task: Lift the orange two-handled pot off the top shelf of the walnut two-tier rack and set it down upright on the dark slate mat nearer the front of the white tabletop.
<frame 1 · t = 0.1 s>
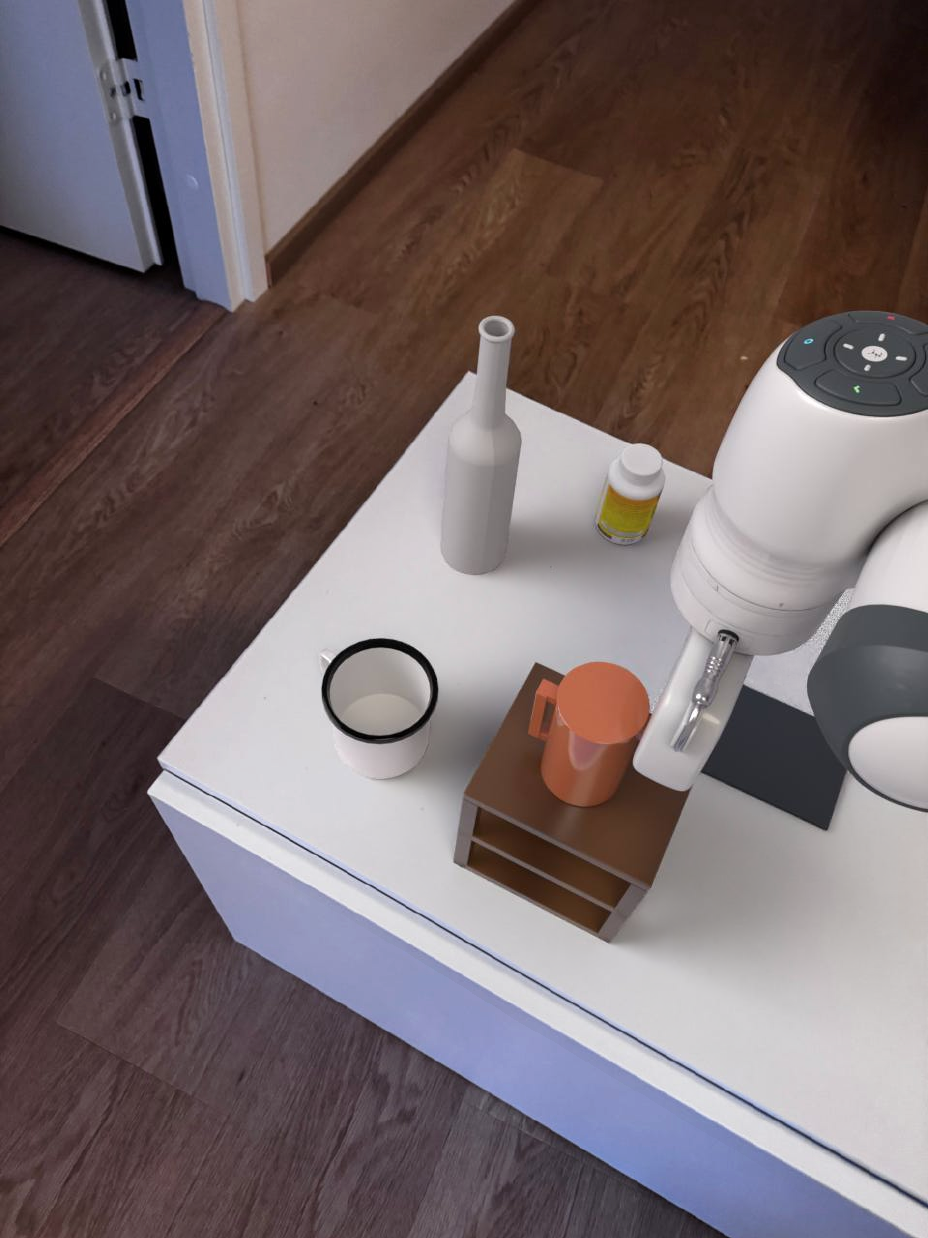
hand: (691, 690, 65), 21 cm above the table, tool pointing down, fingers open, 8 cm apart
mat: (776, 753, 87), on the table
orange two-handled pot: (581, 768, 69), point 15 cm above the table, touching gripper, rack
mug: (371, 727, 86), on the table
supplement bottle: (620, 526, 100), on the table
rack: (559, 839, 81), on the table
bottle: (472, 548, 97), on the table
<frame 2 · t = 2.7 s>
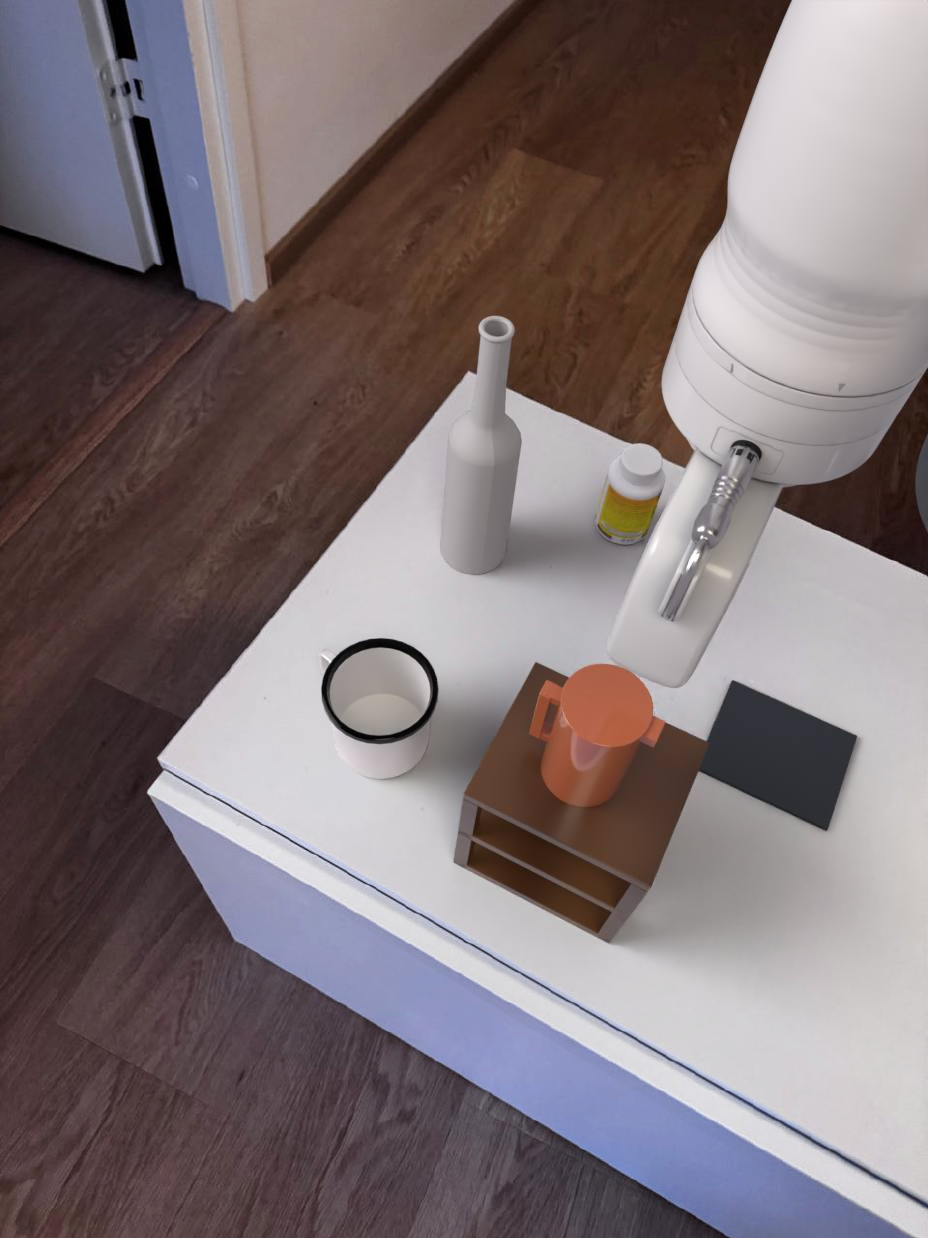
hand: (689, 574, 49), 39 cm above the table, tool pointing down, fingers open, 8 cm apart
orange two-handled pot: (581, 768, 69), point 15 cm above the table, touching rack
everything else where it was.
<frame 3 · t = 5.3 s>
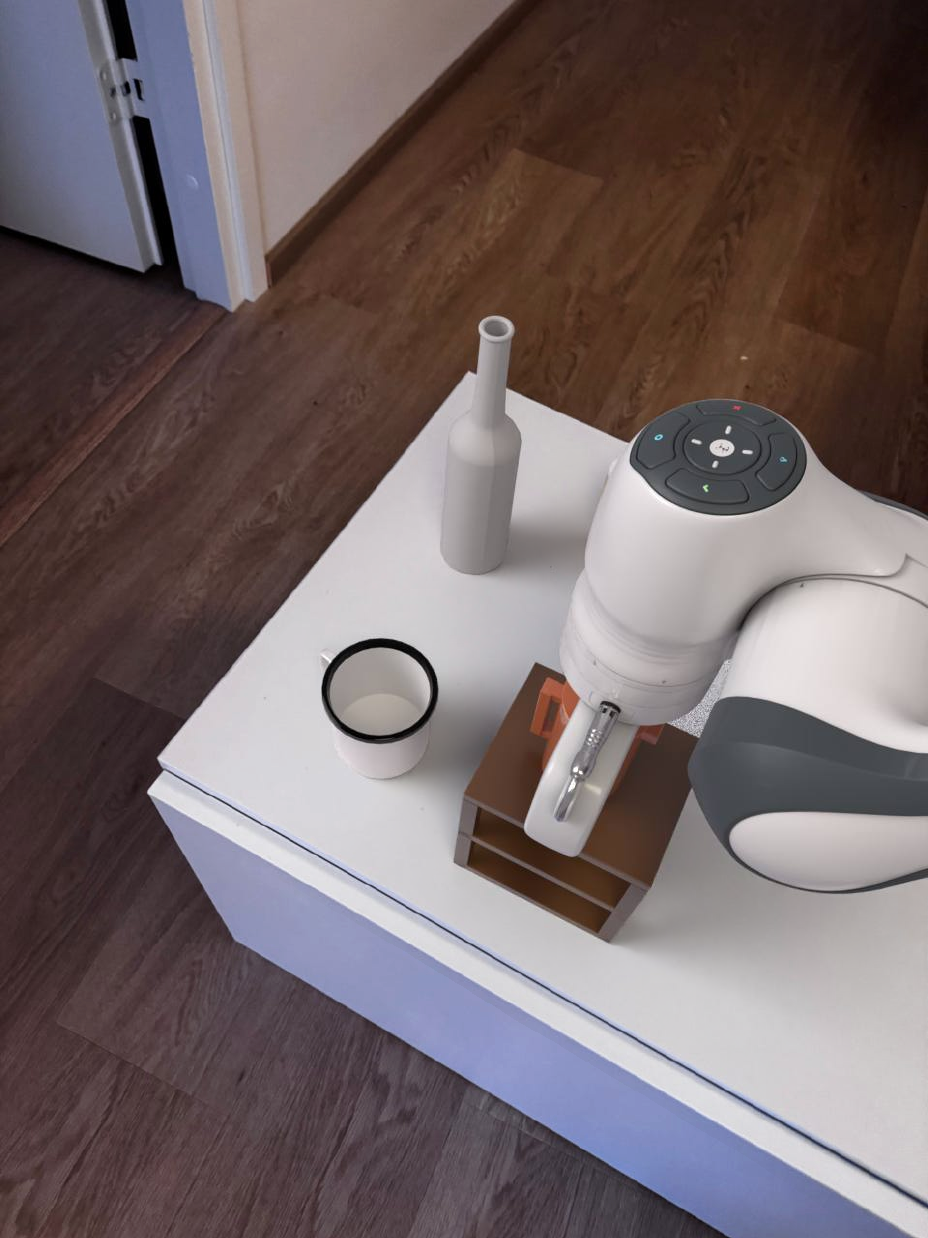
hand: (598, 746, 66), 19 cm above the table, tool pointing down, fingers closed on orange two-handled pot, 6 cm apart
orange two-handled pot: (582, 766, 69), point 15 cm above the table, touching gripper, rack
everything else where it was.
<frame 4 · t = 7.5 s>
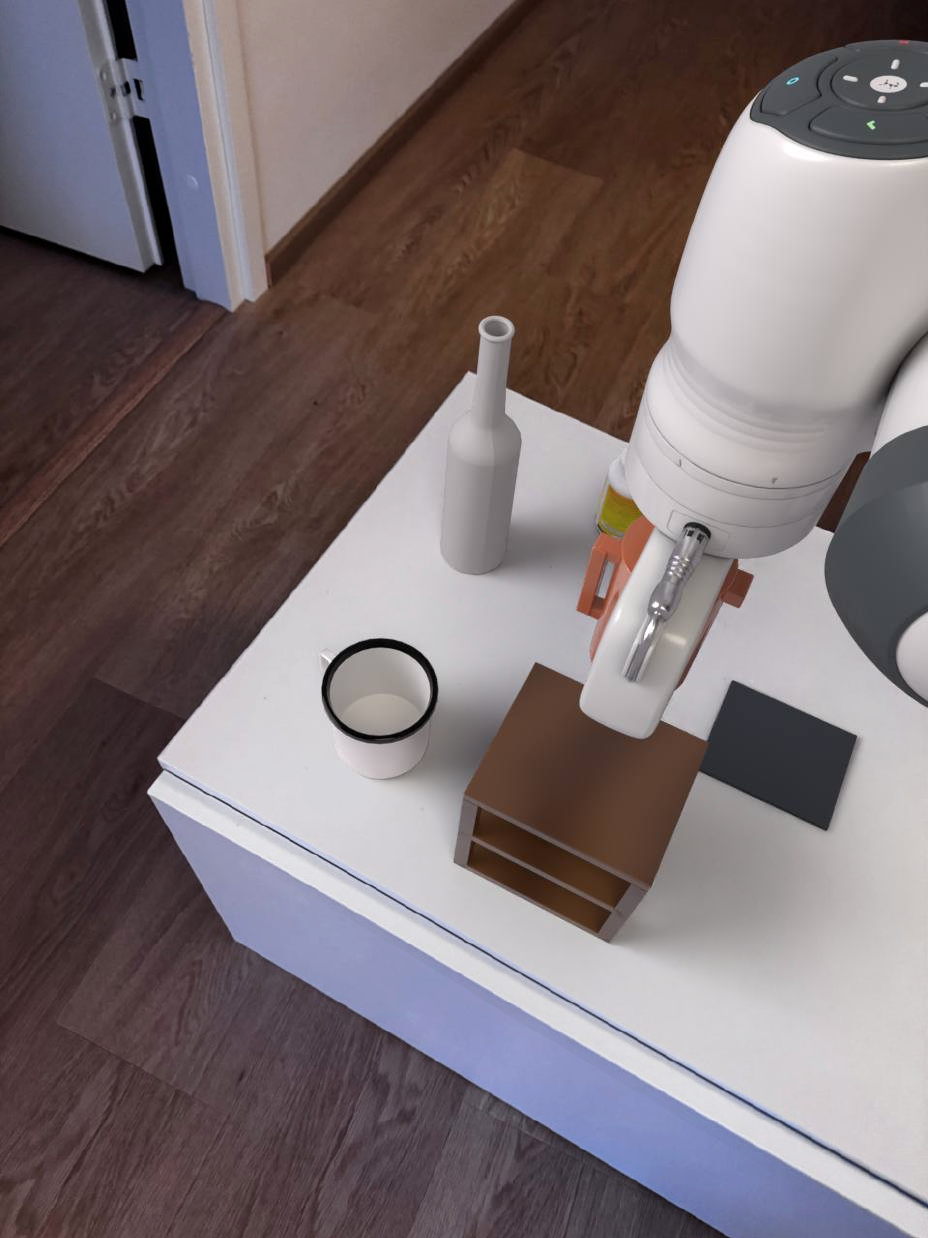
hand: (661, 625, 53), 34 cm above the table, tool pointing down, fingers closed on orange two-handled pot, 6 cm apart
orange two-handled pot: (639, 656, 56), point 30 cm above the table, touching gripper
everything else where it was.
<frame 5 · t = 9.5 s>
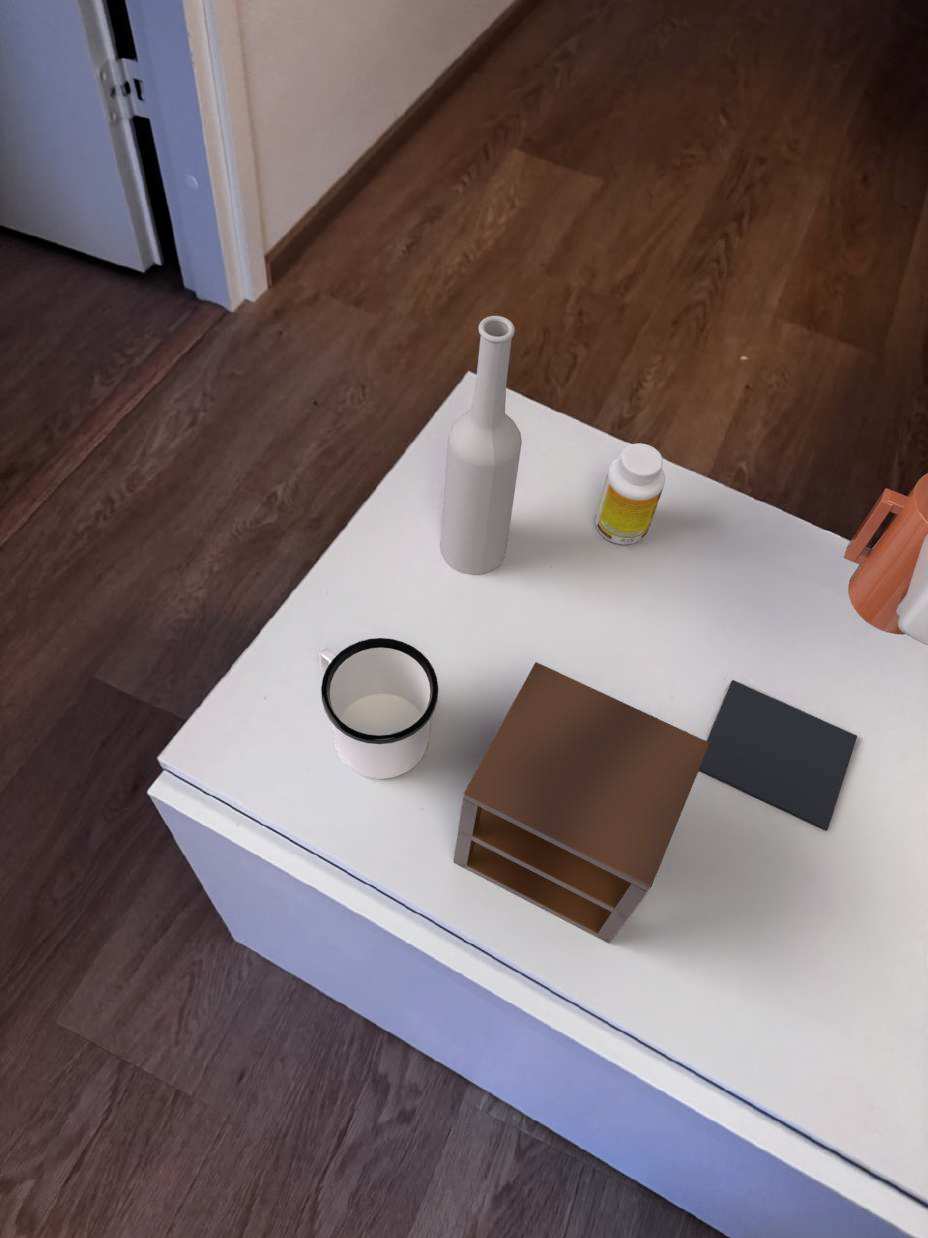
hand: (922, 570, 63), 29 cm above the table, tool pointing down, fingers closed on orange two-handled pot, 6 cm apart
orange two-handled pot: (890, 598, 66), point 25 cm above the table, touching gripper
everything else where it was.
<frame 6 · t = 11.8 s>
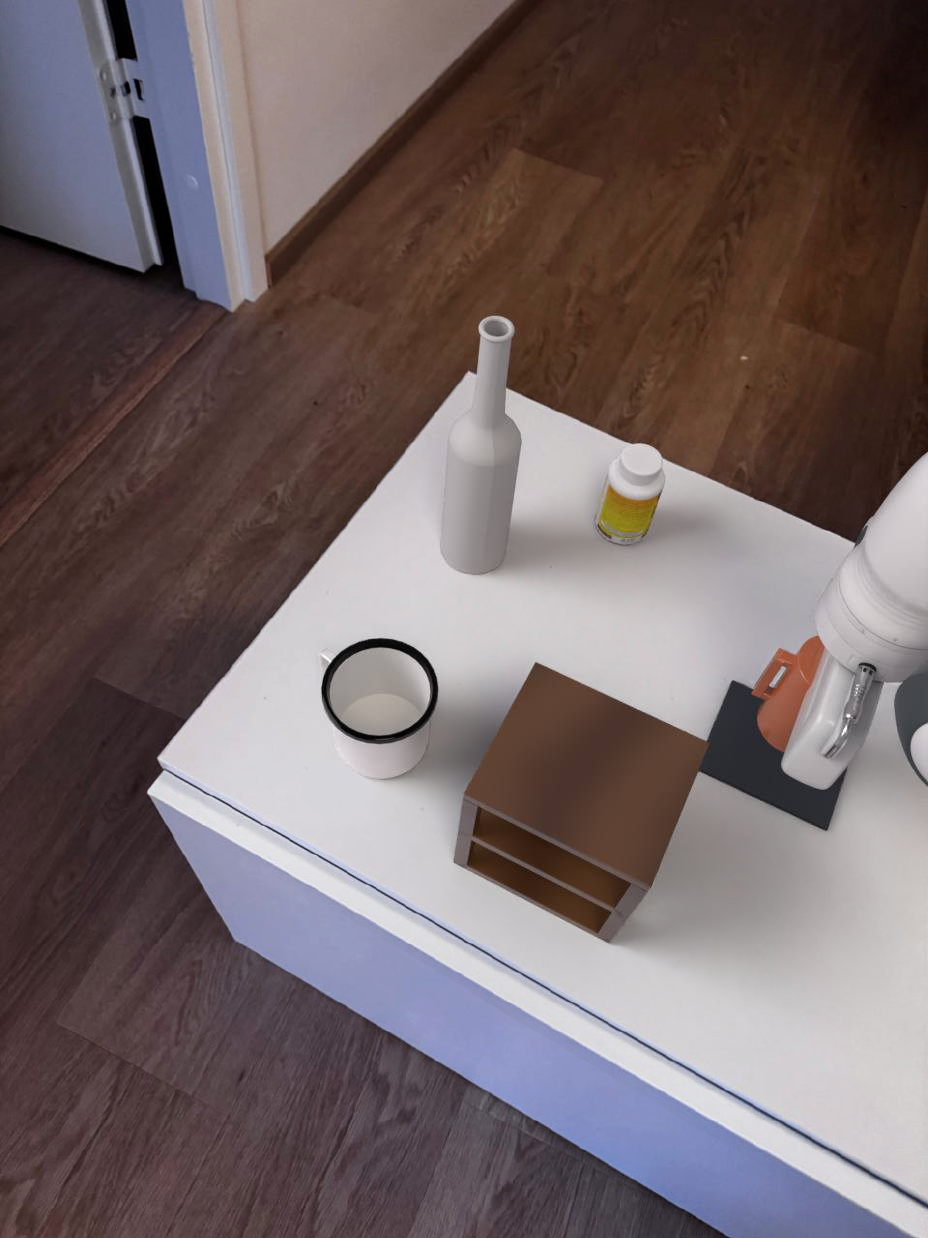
hand: (813, 706, 79), 9 cm above the table, tool pointing down, fingers closed on orange two-handled pot, 6 cm apart
orange two-handled pot: (790, 724, 82), point 6 cm above the table, touching gripper
everything else where it was.
when the fingers open (4 cm above the table, at t = 13.8 s): orange two-handled pot stays where it is, resting on mat.
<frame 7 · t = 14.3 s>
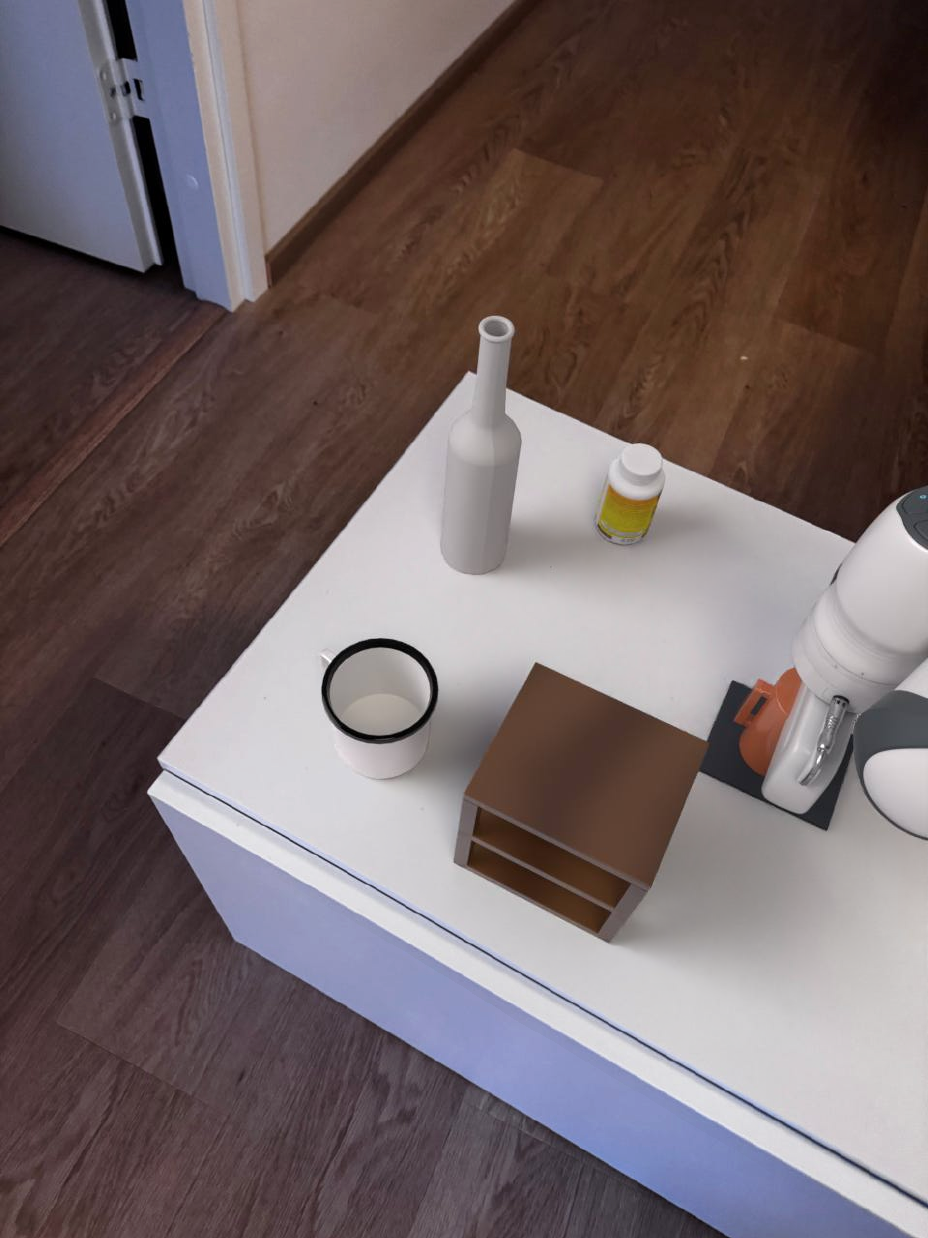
hand: (794, 732, 83), 4 cm above the table, tool pointing down, fingers open, 8 cm apart
orange two-handled pot: (771, 749, 86), resting on mat
everything else where it was.
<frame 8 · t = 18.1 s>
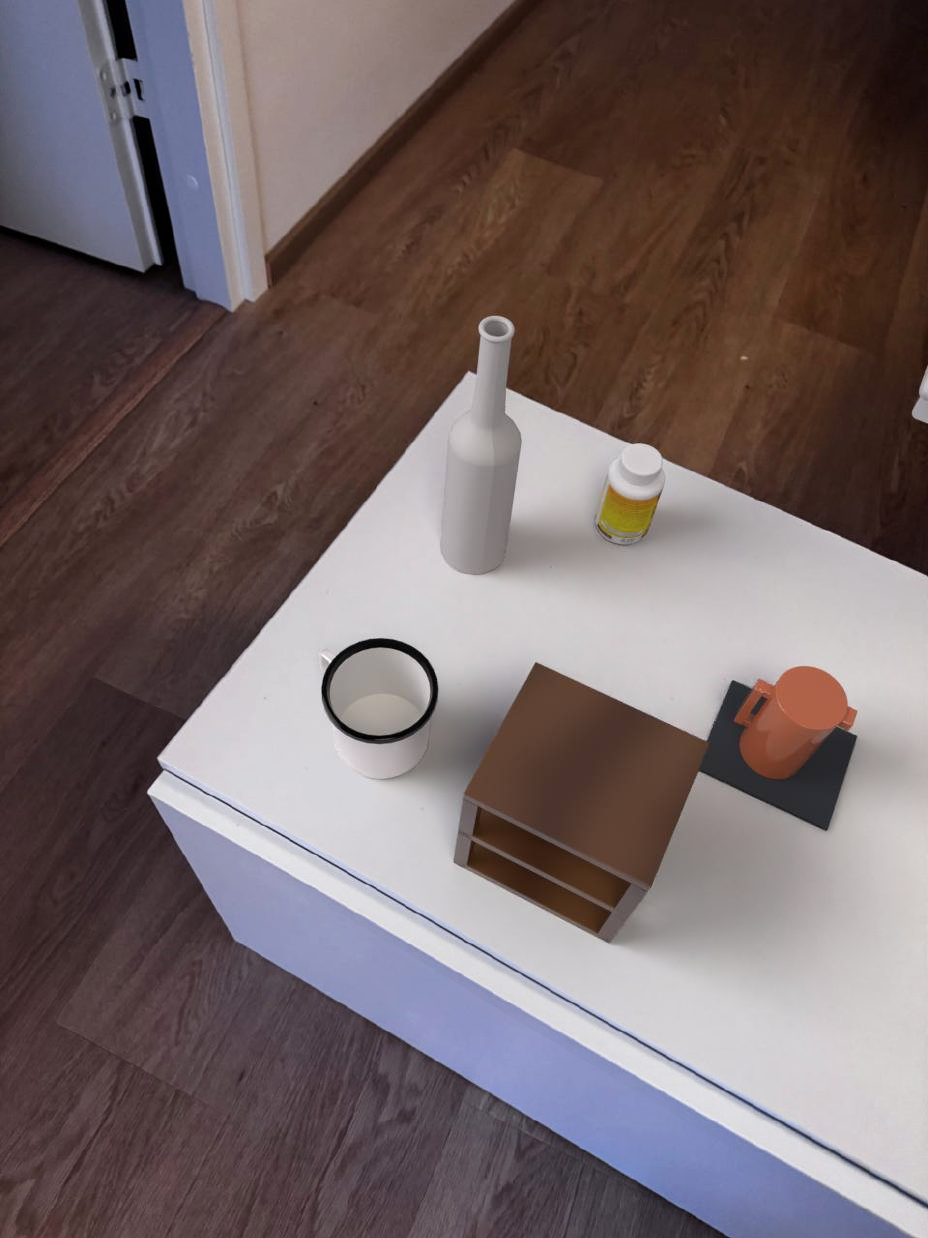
nothing on the table moved.
at the end: orange two-handled pot inside the target area on the mat (0.6 cm from its centre), point 0.5 cm above the mat's base; orange two-handled pot tilted 0°; orange two-handled pot touching mat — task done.
